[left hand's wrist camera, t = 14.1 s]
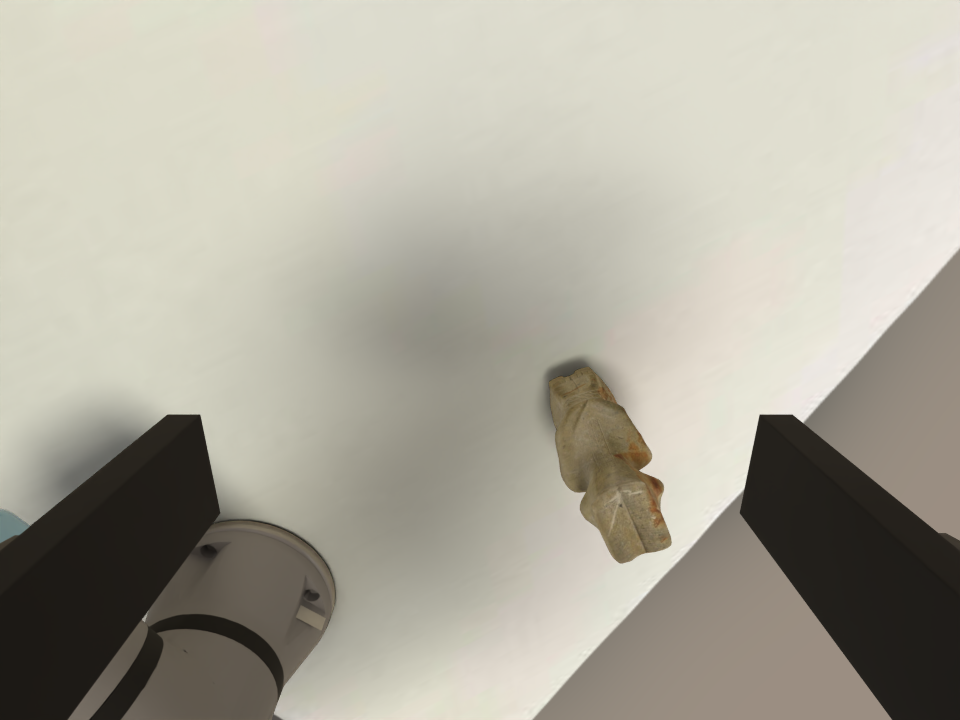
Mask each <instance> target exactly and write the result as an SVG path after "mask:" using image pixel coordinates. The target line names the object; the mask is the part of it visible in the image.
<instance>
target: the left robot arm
mask: <svg viewBox="0 0 960 720" xmlns="http://www.w3.org/2000/svg"><path fill="white" fill-rule="evenodd" d="M219 514H220V509H219V504H218V499H217V495H216V490H215V485H214V480H213V475H212V470H211V465H210V460H209V455H208V450H207V445H206V440H205V436H204V431H203V426H202V421H201V416H200V415H167V416H165V417H164V418H163V419H162V420H160V421H159V422H158V423H157V424H155V425H154V426H153V427H152V428H151V429H149V430H148V431H147V432H146V433H144V434H143V435H142V436H141V437H139V438H138V439H137V440H136V441H135V442H133V443H132V444H131V445H130V446H128V447H127V448H126V449H125V450H123V451H122V452H121V453H120V454H119V455H117V456H116V457H115V458H114V459H112V460H111V461H110V462H109V463H107V464H106V465H105V466H104V467H103V468H101V469H100V470H99V471H98V472H96V473H95V474H94V475H93V476H91V477H90V478H89V479H88V480H87V481H85V482H84V483H83V484H82V485H80V486H79V487H78V488H77V489H75V490H74V491H73V492H72V493H71V494H69V495H68V496H67V497H66V498H64V499H63V500H62V501H61V502H59V503H58V504H57V505H56V506H55V507H53V508H52V509H51V510H50V511H48V512H47V513H46V514H45V515H43V516H42V517H41V518H40V519H38V520H37V521H36V522H35V523H34V524H32V525H31V526H29V525H28V524H27V523H25V522H24V521H23V520H21V519H20V518H19V517H17V516H16V515H15V514H13V513H11V512H9V511H7V510H4V509H0V720H271V719H272V716H273V714H274V711H275V708H276V705H277V702H278V700H279V697H280V694H281V692H282V689H283V687H284V685H285V684H286V683H287V681H288V680H289V679H290V678H291V676H292V675H293V674H294V672H295V671H296V670H297V669H298V667H299V666H300V665H301V664H302V662H303V661H304V660H305V659H306V657H307V656H308V655H309V654H310V652H311V651H312V650H313V649H314V647H315V646H316V645H317V643H318V642H319V641H320V639H321V637H322V635H323V634H324V632H325V630H326V628H327V626H328V623H329V621H330V618H331V615H332V612H333V608H334V604H335V587H334V583H333V579H332V576H331V574H330V571H329V570H328V568H327V566H326V564H325V563H324V561H323V560H322V559H321V557H320V556H319V555H318V554H317V553H316V552H315V551H314V550H313V549H312V548H311V547H310V546H309V545H308V544H306V543H305V542H304V541H302V540H301V539H299V538H298V537H296V536H294V535H293V534H291V533H289V532H287V531H285V530H282V529H280V528H277V527H275V526H271V525H268V524H264V523H259V522H253V521H225V522H220V523H215V524H213V522H214V521H215V519H216V518H217V517H218V515H219ZM740 514H741V515H742V517H743V518H744V519H745V521H746V522H747V524H748V525H749V526H750V528H751V529H752V530H753V532H754V533H755V534H756V536H757V537H758V538H759V540H760V541H761V542H762V544H763V545H764V547H765V548H766V549H767V551H768V552H769V553H770V555H771V556H772V557H773V559H774V560H775V561H776V563H777V564H778V566H779V567H780V568H781V570H782V571H783V572H784V574H785V575H786V576H787V578H788V579H789V580H790V582H791V583H792V584H793V586H794V587H795V589H796V590H797V591H798V593H799V594H800V595H801V597H802V598H803V599H804V601H805V602H806V603H807V605H808V606H809V608H810V609H811V610H812V612H813V613H814V614H815V616H816V617H817V618H818V620H819V621H820V622H821V624H822V625H823V626H824V628H825V629H826V631H827V632H828V633H829V635H830V636H831V637H832V639H833V640H834V641H835V643H836V644H837V645H838V647H839V648H840V650H841V651H842V652H843V654H844V655H845V656H846V658H847V659H848V660H849V662H850V663H851V664H852V666H853V667H854V668H855V670H856V671H857V673H858V674H859V675H860V677H861V678H862V679H863V681H864V682H865V683H866V685H867V686H868V687H869V689H870V690H871V692H872V693H873V694H874V696H875V697H876V698H877V700H878V701H879V702H880V704H881V705H882V706H883V708H884V709H885V711H886V712H887V713H888V715H889V716H890V717H891V719H892V720H960V541H959V540H957V539H956V538H954V537H952V536H950V535H948V534H946V533H938V532H936V531H935V530H934V529H933V528H931V527H930V526H929V525H928V524H926V523H925V522H924V521H923V520H922V519H920V518H919V517H918V516H917V515H915V514H914V513H913V512H912V511H910V510H909V509H908V508H907V507H905V506H904V505H903V504H902V503H901V502H899V501H898V500H897V499H896V498H894V497H893V496H892V495H891V494H889V493H888V492H887V491H886V490H884V489H883V488H882V487H881V486H880V485H878V484H877V483H876V482H875V481H873V480H872V479H871V478H870V477H868V476H867V475H866V474H865V473H864V472H862V471H861V470H860V469H859V468H857V467H856V466H855V465H854V464H853V463H851V462H850V461H849V460H848V459H846V458H845V457H844V456H843V455H841V454H840V453H839V452H838V451H837V450H835V449H834V448H833V447H832V446H830V445H829V444H828V443H827V442H825V441H824V440H823V439H822V438H821V437H819V436H818V435H817V434H815V433H814V432H813V431H812V430H811V429H809V428H808V427H807V426H806V425H805V424H803V423H802V422H801V421H800V420H798V419H797V418H796V417H795V416H793V415H760V416H759V421H758V426H757V431H756V436H755V440H754V445H753V450H752V455H751V460H750V465H749V470H748V475H747V480H746V485H745V490H744V495H743V499H742V504H741V510H740ZM148 610H149V611H148ZM147 612H148V615H147V618H146V621H145V622H143V621H142V618H143V617H144V616H145V614H146V613H147Z"/></svg>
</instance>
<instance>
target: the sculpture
mask: <svg viewBox="0 0 960 720" xmlns="http://www.w3.org/2000/svg"><path fill="white" fill-rule="evenodd" d="M549 387H550V406H551V412H552V417H553V421H554V424H555V427H556V430H557V431H556V434H555V442H556V448H557V453H558V457H559V464H560V472H561V476H562V478H563V481H564V482H565V484H566V485H567V486H568V488H569V489H571V490H572V491H574V492H586V493H585V495H584V497H583V499H582V501H581V504H580V511H581V513H582V515H583V516H584V518H585V519H586V520H587V521H589V522H590V523H592V524H593V525H594V526H595V527H597V528H598V529H599V531H600V533H601V535H602V537H603V539H604V541H605V543H606V546H607V548H608V550H609V552H610V553H611V555H612V557H613V558H614V559H615V560H616V561H617V562H619V563H625V562H630V561H632V560H633V559H635V558H636V557H637V556H639V555H641V554H644V553H650V552H657V551H660V550H664V549H666V548H668V547H669V546H671V543H672V542H671V536H670V534H669V531H668V528H667V526H666V523H665V521H664V518H663V516H662V513H661V510H660V501H661V496H662V494H663V491H664V485H663V483H662V482H661V481H660V480H659V479H656V478H654V477H652V476H649V475H647V474H644V473H642V472H640V471H639V470H640V469H642V468H643V467H645V466H646V465H647V464H648V463H649V462H650V461H651V459H652V453H651V451H650V449H649V448H648V446H647V445H646V443H645V442H644V440H643V438H642V436H641V434H640V433H639V432H638V430H637V429H636V427H635V426H634V424H633V423H632V421H631V419H630V418H629V417H628V415H627V413H626V411H625V409H624V408H623V407H622V406H620V405H618V404H617V402H616V400H615V398H614V396H613V394H612V393H611V391H610V390H609V388H608V387H607V386H606V385H605V383H604V382H603V381H602V380H601V378H600V377H599V376H598V375H597V374H596V373H594V372H593V371H592V369H591V368H589V367H585V368H581V369H578V370H576V371H575V372H574V374H573V375H570V376H567V377H563V376H559V377H557V378H555V379H553V380H551V381H549Z"/></svg>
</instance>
